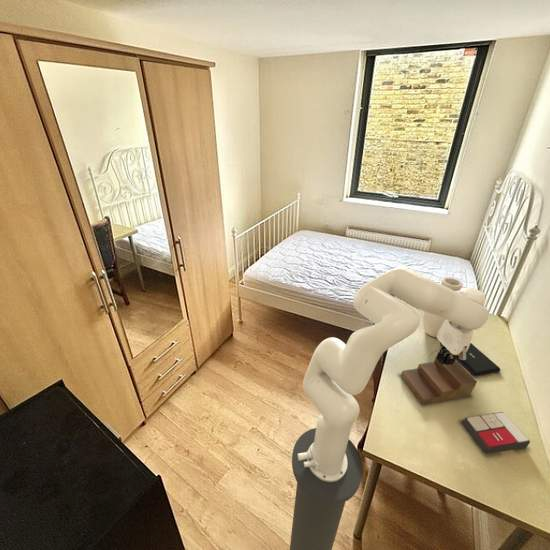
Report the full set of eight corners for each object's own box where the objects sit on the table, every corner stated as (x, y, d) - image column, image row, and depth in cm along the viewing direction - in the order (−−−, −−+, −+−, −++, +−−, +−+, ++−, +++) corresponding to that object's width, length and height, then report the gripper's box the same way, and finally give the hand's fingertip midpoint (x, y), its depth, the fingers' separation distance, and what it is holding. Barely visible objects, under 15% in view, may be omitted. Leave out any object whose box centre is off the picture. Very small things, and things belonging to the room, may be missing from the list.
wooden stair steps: (421, 405, 109) (427, 390, 105) (400, 375, 120) (405, 361, 116) (469, 396, 112) (477, 381, 109) (444, 368, 124) (450, 354, 120)
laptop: (467, 377, 121) (469, 373, 120) (440, 343, 138) (441, 340, 137) (503, 375, 122) (505, 372, 121) (472, 342, 139) (473, 339, 138)
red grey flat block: (464, 416, 101) (504, 410, 102) (461, 423, 103) (499, 417, 104) (489, 447, 91) (532, 440, 93) (484, 455, 93) (526, 448, 95)
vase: (420, 321, 152) (436, 271, 138) (449, 330, 146) (470, 279, 132) (416, 336, 142) (434, 284, 127) (448, 347, 136) (470, 293, 121)
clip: (454, 362, 109) (458, 352, 106) (441, 364, 108) (445, 354, 105) (448, 356, 111) (452, 346, 109) (435, 358, 110) (439, 348, 108)
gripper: (435, 308, 107) (422, 346, 116) (470, 339, 93) (452, 379, 102) (453, 306, 108) (438, 343, 117) (490, 336, 94) (470, 375, 103)
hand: (445, 359), depth 109 cm, fingers closed on clip, 3 cm apart
